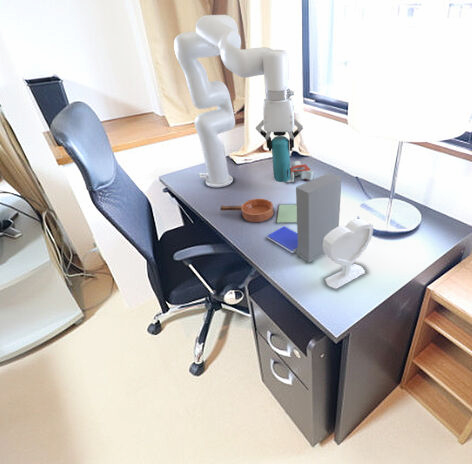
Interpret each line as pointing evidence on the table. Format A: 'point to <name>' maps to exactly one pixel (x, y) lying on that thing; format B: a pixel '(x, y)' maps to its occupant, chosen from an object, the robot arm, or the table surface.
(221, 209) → the pan handle
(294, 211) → the cloth
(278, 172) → the beverage bottle
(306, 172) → the tape dispenser
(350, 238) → the heart sculpture
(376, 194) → the table surface
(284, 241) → the hard drive
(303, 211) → the tall grey upright box
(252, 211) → the pan
